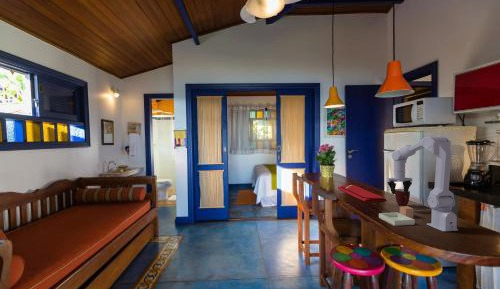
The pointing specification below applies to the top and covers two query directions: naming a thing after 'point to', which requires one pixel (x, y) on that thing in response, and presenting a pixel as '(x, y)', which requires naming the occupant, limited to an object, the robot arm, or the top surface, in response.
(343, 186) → the dish drying mat
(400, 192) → the mug
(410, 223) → the tray
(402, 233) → the top surface
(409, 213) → the block
